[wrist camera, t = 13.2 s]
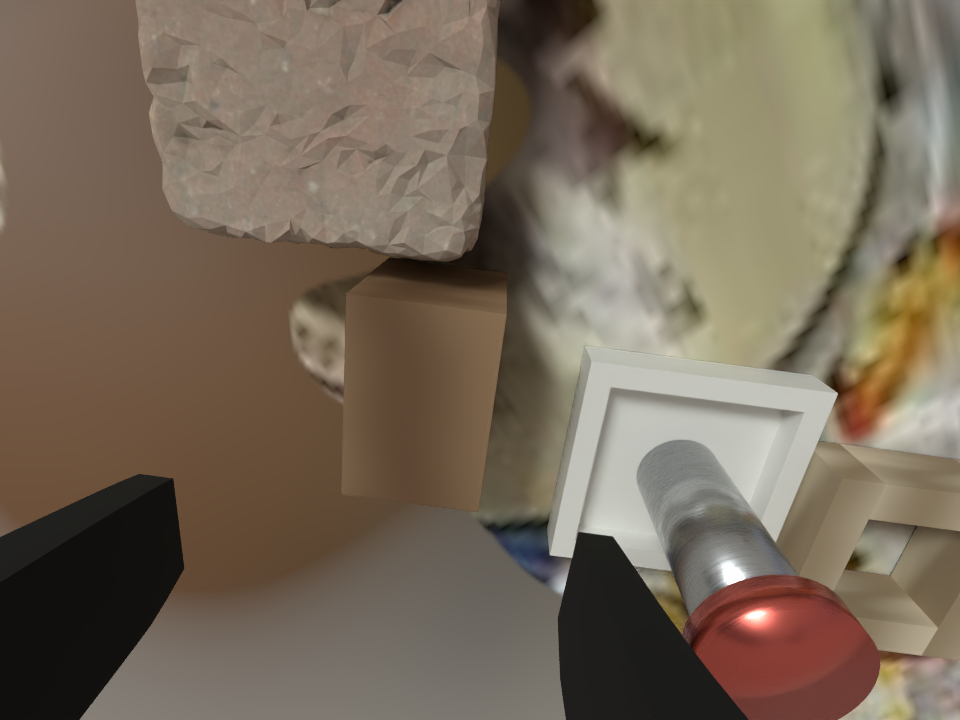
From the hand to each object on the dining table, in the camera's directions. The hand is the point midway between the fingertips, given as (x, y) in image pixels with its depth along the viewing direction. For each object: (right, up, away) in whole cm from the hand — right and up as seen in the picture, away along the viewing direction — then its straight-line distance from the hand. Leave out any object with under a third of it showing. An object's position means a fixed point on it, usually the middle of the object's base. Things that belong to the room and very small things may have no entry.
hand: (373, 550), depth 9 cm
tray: (+9, 0, +10) cm, 14 cm away
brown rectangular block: (+1, +4, +9) cm, 10 cm away
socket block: (+17, -3, +11) cm, 20 cm away
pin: (+9, -1, +10) cm, 14 cm away
